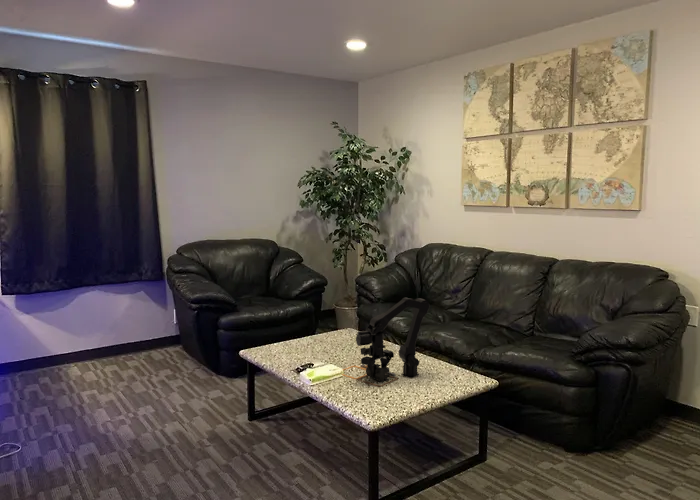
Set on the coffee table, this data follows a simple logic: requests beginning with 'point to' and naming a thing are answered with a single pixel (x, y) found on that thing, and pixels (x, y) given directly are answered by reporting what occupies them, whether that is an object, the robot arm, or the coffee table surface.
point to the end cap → (379, 373)
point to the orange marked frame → (353, 377)
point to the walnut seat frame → (376, 384)
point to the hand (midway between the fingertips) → (377, 374)
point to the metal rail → (385, 373)
